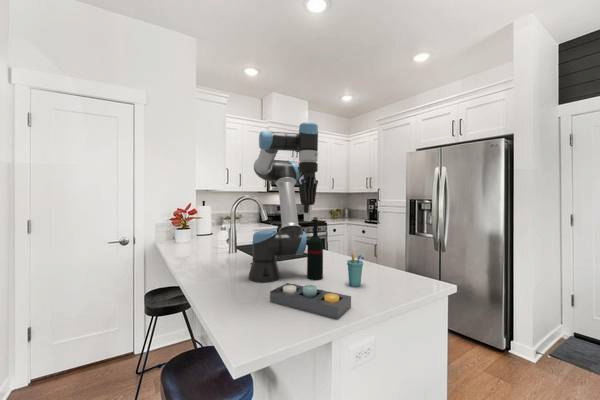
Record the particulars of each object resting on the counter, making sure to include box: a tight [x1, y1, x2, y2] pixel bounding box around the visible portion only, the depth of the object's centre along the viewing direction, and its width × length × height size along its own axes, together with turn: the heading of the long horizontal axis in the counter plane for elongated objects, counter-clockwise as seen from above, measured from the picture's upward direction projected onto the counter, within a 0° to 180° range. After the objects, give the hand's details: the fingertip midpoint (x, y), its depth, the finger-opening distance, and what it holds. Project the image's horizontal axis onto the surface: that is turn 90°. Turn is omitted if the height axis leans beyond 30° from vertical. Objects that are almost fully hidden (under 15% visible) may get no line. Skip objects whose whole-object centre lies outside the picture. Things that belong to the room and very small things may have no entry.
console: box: [269, 282, 352, 320], centre depth 104 cm, size 28×12×4 cm, turn 59°
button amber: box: [324, 293, 339, 303], centre depth 100 cm, size 5×5×4 cm
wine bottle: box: [306, 216, 324, 281], centre depth 138 cm, size 8×10×30 cm
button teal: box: [302, 284, 318, 298], centre depth 104 cm, size 5×5×4 cm
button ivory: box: [283, 284, 296, 293], centre depth 109 cm, size 5×5×4 cm
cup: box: [346, 252, 365, 288], centre depth 126 cm, size 14×8×15 cm, turn 14°
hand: (307, 221), depth 112 cm, fingers closed
